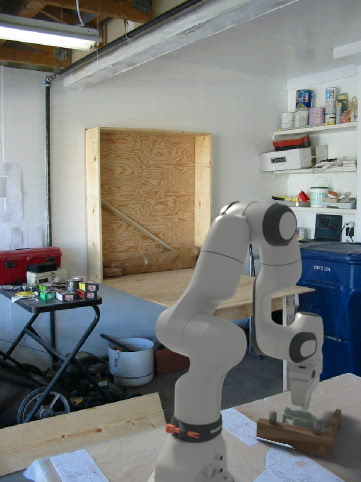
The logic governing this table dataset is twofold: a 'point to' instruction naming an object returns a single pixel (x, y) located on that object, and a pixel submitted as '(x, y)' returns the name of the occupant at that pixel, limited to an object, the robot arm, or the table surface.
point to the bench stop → (301, 434)
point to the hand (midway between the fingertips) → (305, 409)
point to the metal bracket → (299, 418)
